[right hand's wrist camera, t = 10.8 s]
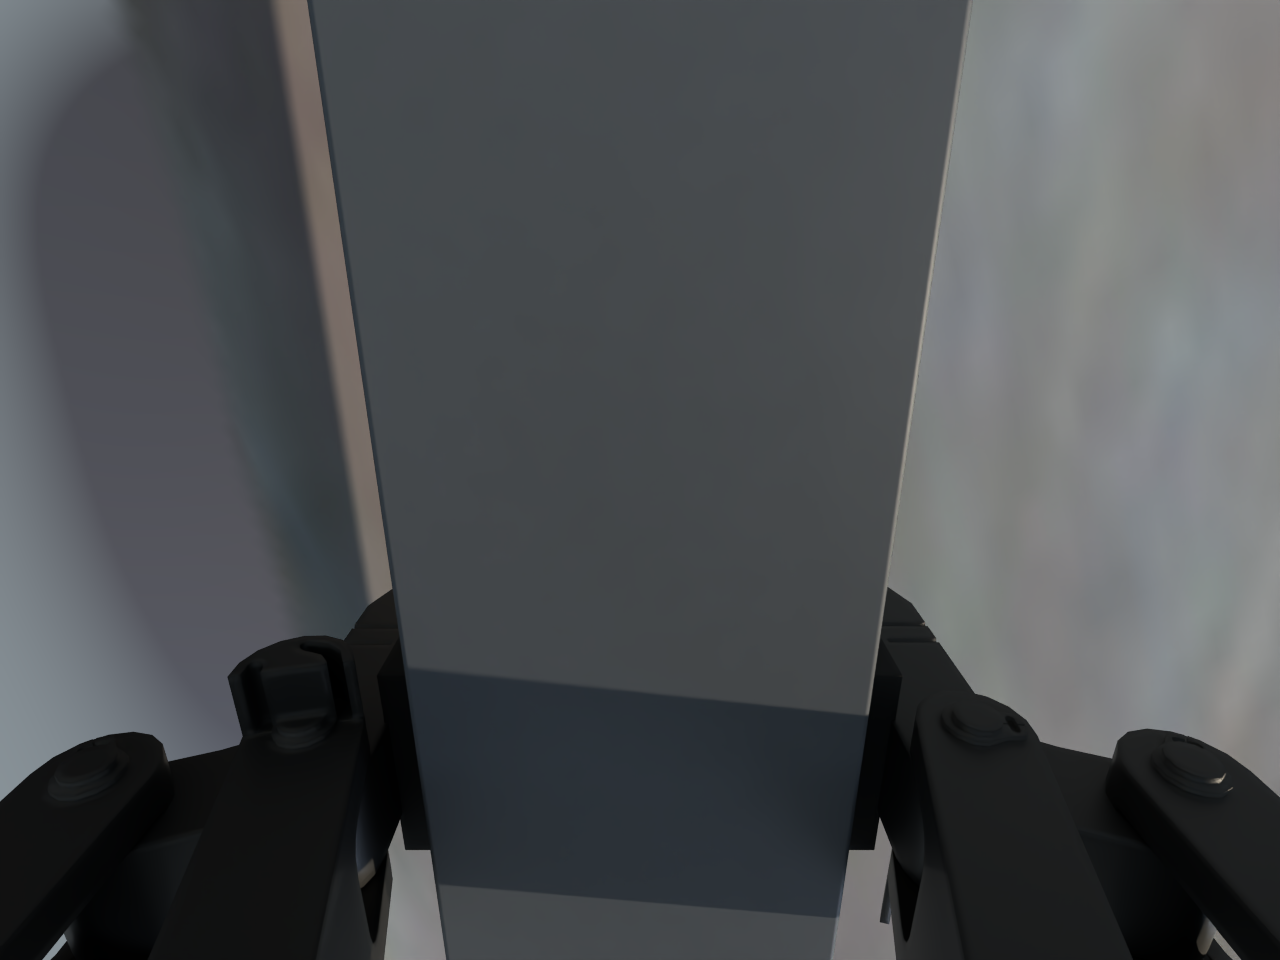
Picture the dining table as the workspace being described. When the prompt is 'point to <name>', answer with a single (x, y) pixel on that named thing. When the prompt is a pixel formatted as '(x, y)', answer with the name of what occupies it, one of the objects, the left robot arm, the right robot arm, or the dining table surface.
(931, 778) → the right robot arm
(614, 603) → the post
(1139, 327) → the dining table surface
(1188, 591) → the dining table surface
